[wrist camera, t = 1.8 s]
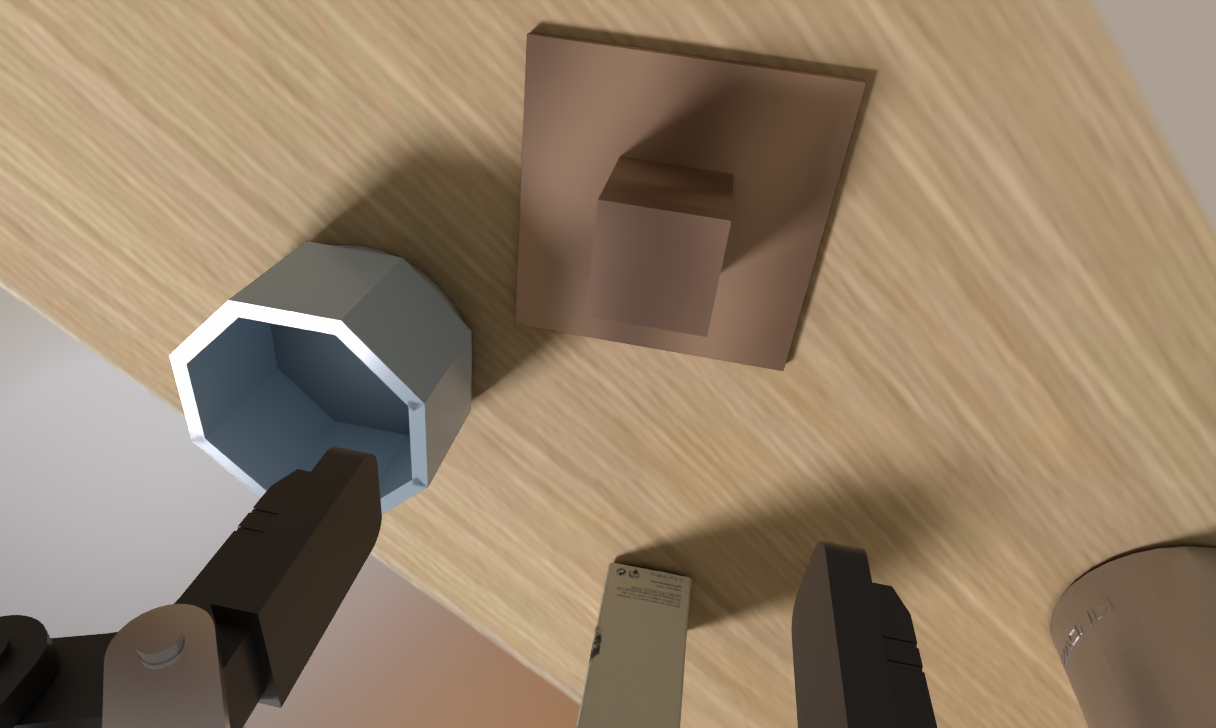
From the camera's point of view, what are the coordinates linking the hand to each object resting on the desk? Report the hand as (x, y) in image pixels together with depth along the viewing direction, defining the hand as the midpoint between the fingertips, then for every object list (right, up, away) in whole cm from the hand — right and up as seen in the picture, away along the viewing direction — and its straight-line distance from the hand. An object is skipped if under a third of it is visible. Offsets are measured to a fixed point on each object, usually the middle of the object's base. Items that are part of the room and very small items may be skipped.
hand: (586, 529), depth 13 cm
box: (+2, -9, +25) cm, 27 cm away
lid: (+3, +9, +14) cm, 17 cm away
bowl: (-10, +4, +19) cm, 22 cm away
